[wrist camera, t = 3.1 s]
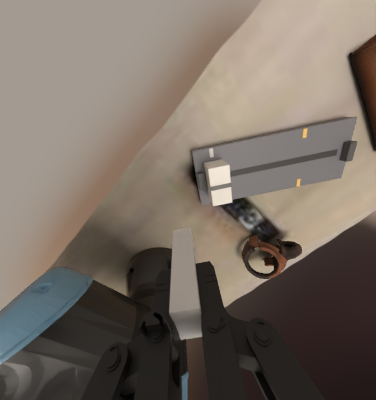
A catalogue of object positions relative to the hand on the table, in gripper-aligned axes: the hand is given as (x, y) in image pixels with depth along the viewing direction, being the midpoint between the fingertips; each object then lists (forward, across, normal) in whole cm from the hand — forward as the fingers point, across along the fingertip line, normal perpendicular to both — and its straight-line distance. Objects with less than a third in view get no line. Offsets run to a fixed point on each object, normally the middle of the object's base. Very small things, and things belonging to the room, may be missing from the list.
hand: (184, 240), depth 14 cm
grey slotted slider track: (+17, +16, 0) cm, 23 cm away
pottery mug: (+17, +16, -20) cm, 31 cm away
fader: (+14, +6, 0) cm, 15 cm away
